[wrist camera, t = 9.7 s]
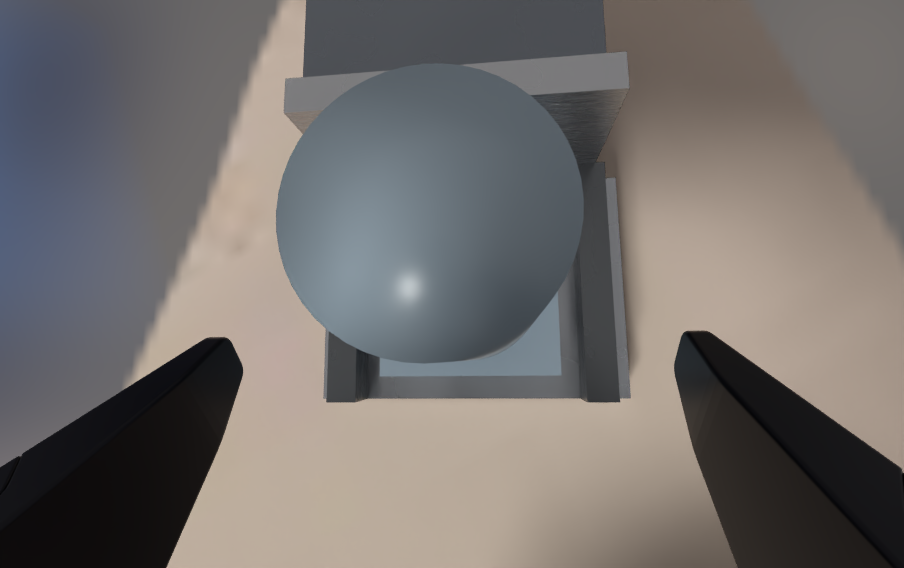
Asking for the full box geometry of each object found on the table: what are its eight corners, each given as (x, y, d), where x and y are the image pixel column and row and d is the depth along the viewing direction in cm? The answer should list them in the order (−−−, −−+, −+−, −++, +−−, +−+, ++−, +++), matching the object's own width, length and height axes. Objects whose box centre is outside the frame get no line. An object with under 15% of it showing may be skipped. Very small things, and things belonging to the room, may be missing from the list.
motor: (623, 396, 17) (702, 421, 10) (333, 396, 18) (229, 419, 11) (598, 22, 19) (649, -161, 13) (343, 44, 21) (262, -112, 14)
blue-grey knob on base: (556, 373, 17) (630, 397, 7) (390, 375, 17) (236, 397, 7) (548, 197, 18) (603, -6, 8) (392, 205, 18) (259, 26, 8)
